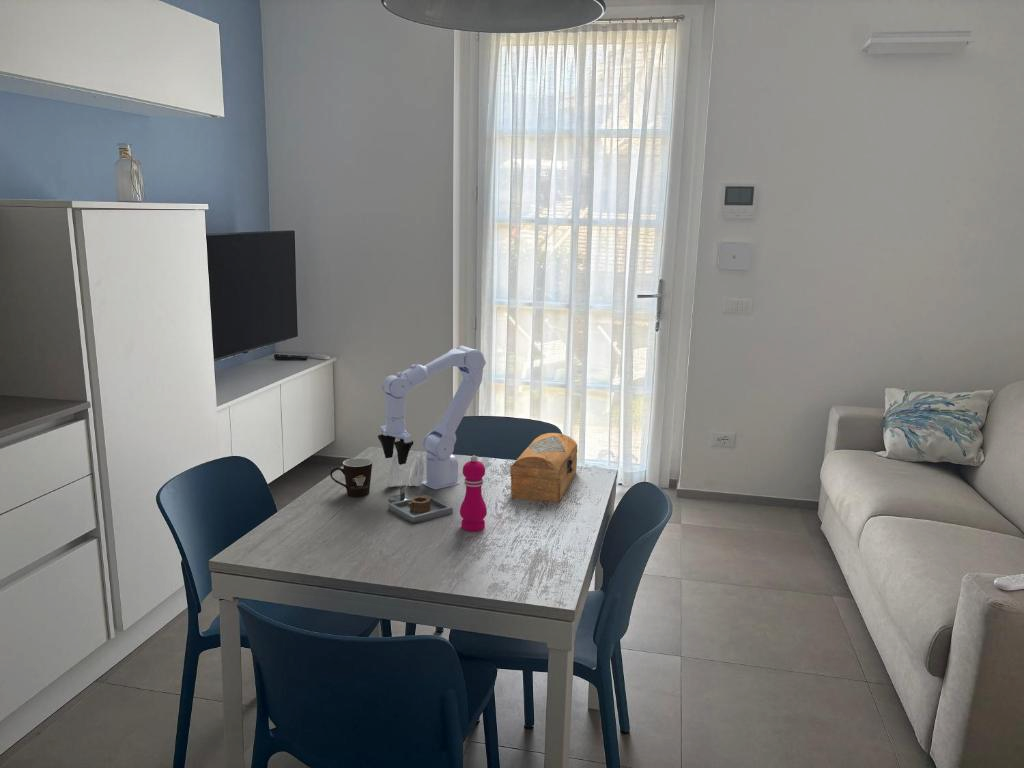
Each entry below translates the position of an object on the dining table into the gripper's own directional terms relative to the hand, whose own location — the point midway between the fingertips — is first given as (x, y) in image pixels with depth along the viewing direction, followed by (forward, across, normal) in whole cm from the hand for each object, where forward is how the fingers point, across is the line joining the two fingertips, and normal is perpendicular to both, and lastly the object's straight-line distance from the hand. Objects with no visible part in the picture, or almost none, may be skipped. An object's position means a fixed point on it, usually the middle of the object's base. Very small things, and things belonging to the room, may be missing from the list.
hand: (395, 460), depth 235 cm
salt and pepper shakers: (+10, -3, +5) cm, 12 cm away
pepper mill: (+10, +36, +2) cm, 37 cm away
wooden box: (+10, +22, +41) cm, 48 cm away
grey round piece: (+10, +7, -2) cm, 12 cm away
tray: (+10, +18, -3) cm, 21 cm away
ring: (+9, +18, -3) cm, 20 cm away
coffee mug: (+10, -6, -11) cm, 16 cm away
